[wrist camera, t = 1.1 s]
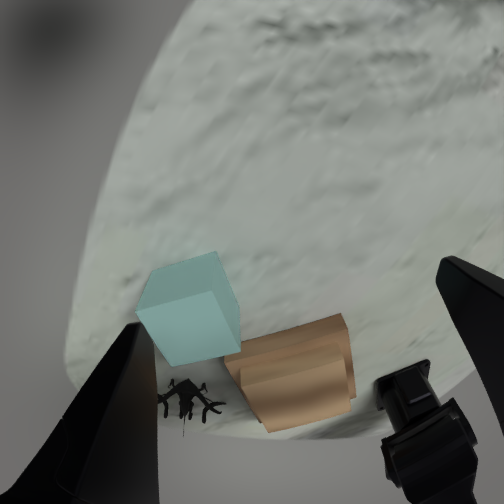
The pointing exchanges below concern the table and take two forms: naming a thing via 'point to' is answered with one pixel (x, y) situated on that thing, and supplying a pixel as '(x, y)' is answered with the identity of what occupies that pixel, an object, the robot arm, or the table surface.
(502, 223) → the table surface
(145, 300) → the teal block
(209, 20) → the table surface
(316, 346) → the plinth
